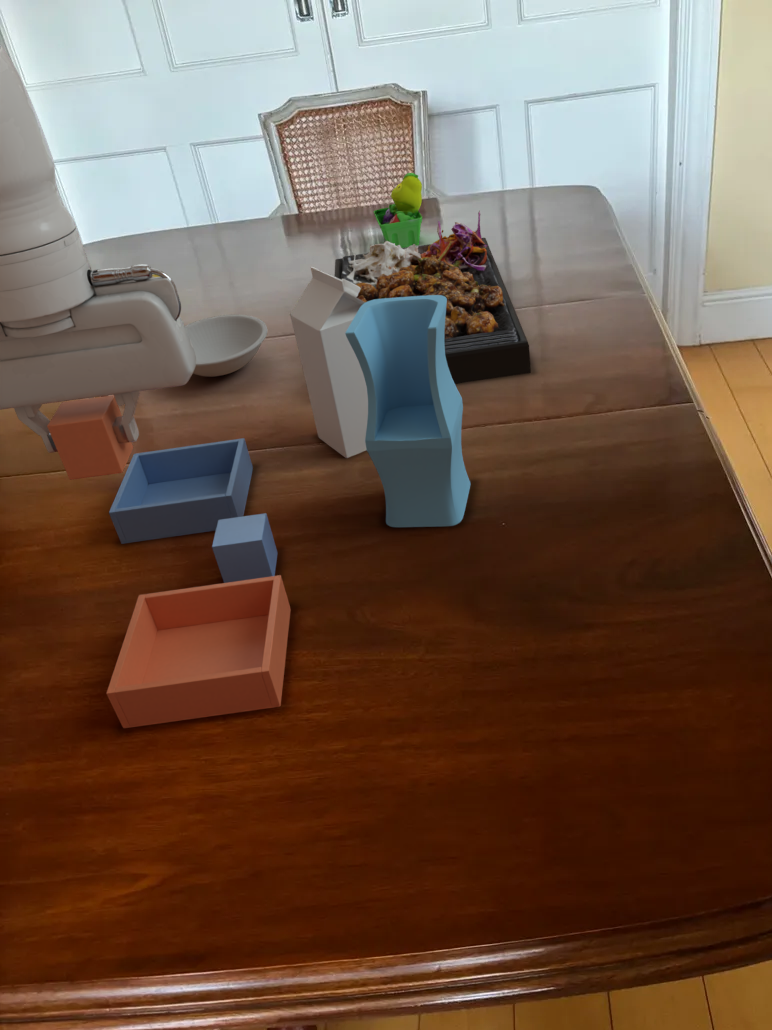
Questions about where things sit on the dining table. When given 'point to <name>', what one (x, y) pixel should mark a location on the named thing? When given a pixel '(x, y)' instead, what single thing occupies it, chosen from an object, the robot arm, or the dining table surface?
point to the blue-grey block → (245, 548)
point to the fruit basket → (402, 213)
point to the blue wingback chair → (412, 409)
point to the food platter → (450, 298)
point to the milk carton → (332, 361)
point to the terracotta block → (89, 437)
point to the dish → (225, 342)
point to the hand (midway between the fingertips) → (94, 444)
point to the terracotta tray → (202, 653)
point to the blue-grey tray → (182, 490)
